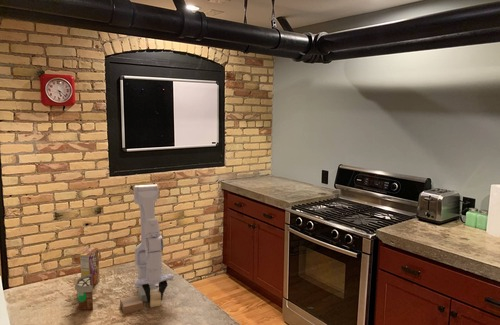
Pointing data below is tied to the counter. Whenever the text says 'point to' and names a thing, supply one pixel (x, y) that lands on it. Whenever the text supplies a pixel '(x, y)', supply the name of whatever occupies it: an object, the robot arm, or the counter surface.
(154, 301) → the maple cube
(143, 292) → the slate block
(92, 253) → the candy box
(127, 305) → the walnut block
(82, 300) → the food container
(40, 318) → the counter surface
